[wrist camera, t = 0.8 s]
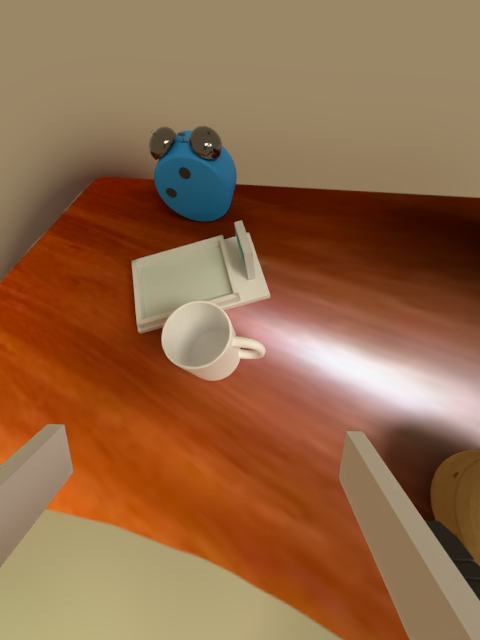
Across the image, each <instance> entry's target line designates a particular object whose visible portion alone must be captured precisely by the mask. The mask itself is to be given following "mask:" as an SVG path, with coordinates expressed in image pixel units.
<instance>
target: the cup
mask: <svg viewBox="0 0 480 640" xmlns="http://www.w3.org/2000/svg"><path fill="white" fill-rule="evenodd" d="M161 341H162V347H163V350H164V352H165V354H166V356H167V357H168V359H169V360H170V361H171V362H172V363H174V364H175V365H177V366H179V367H181V368H183V369H184V370H186V371H188V372H190V373H192V374H194V375H196V376H198V377H199V378H202V379H205V380H210V381H215V380H220V379H223V378H225V377H227V376H229V375H230V374H231V373H232V372H233V371H234V370H235V369H236V367H237V366H238V364H239V361H240V358H243V359H258V358H261V357H263V356H264V355H265V352H266V351H265V348H264V346H263V345H262V344H261V343H260V342H258V341H256V340H254V339H250V338H245V337H237V336H236V333H235V331H234V329H233V326H232V324H231V322H230V319H229V317H228V315H227V314H226V312H225V311H224V310H223V309H222V308H221V307H219V306H218V305H216V304H214V303H211V302H208V301H193V302H189V303H186V304H184V305H182V306H180V307H179V308H177V309H176V310H175V311H174V312H173V313H172V314H171V315H170V316H169V317H168V319H167V320H166V322H165V324H164V327H163V330H162V336H161ZM241 348H250V349H253V350H256V351H251V350H243V349H241Z"/></svg>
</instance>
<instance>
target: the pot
mask: <svg viewBox="0 0 480 640" xmlns="http://www.w3.org/2000/svg"><path fill="white" fill-rule="evenodd" d="M430 496H431V506H432V511H433V514H434V517H435V521H440V522H441V523H442V524H443V525H444V526H445V527H446V528H447V529H448V530H450V531H451V532H452V533H453V534H454V535H455V536H456V537H457V538H458V539H459V540H460V541H461V543H462V544H463V545H464V547H465V548H466V549H467V550H468V552H469V553H470V554H471V556H472V557H473V558H474V561H475V563H478V565H479V566H480V449H476V450H465V451H462V452H459V453H456V454H453V455H452V456H450V457H449V458H447V459H446V460H445V461H443V462H442V464H441V465H440V466H439V467H438V469H437V470H436V471H435V474H434V477H433V479H432V483H431V492H430Z"/></svg>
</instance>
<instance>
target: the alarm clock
mask: <svg viewBox="0 0 480 640" xmlns="http://www.w3.org/2000/svg"><path fill="white" fill-rule="evenodd" d="M149 151H150V153H151V155H152V156H153V158H154V159H156V160H157V159H159V161H158V163H157V165H156V168H155V171H154V182H155V186H156V189H157V191H158V193H159V195H160V196H161V198H162V199H163V201H164V202H165V203H166V204H167V205H168V206H169V207H170V208H171V209H173V210H174V211H175V212H177V213H178V214H180V215H182V216H184V217H186V218H188V219H191V220H195V221H201V222H209V221H214V220H217V219H219V218H221V217H222V216H224V215H225V214H226V212H227V211H228V209H229V207H230V204H231V200H232V196H233V192H234V188H235V184H236V168H235V165H234V162H233V160H232V158H231V156H230V154H229V153H228V152H227V150H226V149H225V148H224V147H223V146H222V141H221V138H220V136H219V135H218V134H217V132H216V131H215V130H213V129H212V128H210V127H207V126H198V127H196V128H195V129H194V130H193V131H183V132H179V133H177V134H176V133H175V132H174V130H172V129H171V128H169V127H160V128H158V129H156V130H155V131H152V135H151V137H150V140H149Z"/></svg>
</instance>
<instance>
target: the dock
mask: <svg viewBox="0 0 480 640" xmlns="http://www.w3.org/2000/svg"><path fill="white" fill-rule="evenodd" d="M234 224H235V234H236V236H235V237H232V238H228V239H224V238H223V235H220V236H217V237H213V238H210V239H206V240H203V241H199V242H196V243H192V244H188V245H185V246H181V247H178V248H174V249H171V250H167V251H164V252H160V253H157V254H153V255H150V256H146V257H143V258H139V259H136V260H132V273H133V285H134V297H135V309H136V321H137V326H138V332H139V333H145V332H149V331H152V330H156V329H159V328H163V327H164V324H165V322H166V320H167V319H168V317H169V316H170V315H171V314H172V313H173V312H174V311H175V310H176V309H177V308H179V307H180V306H182V305H184V304H186V303H189V302H193V301H208V302H211V303H214V304H216V305H218V306H219V307H221V308H222V309H223V310H228V309H231V308H235V307H238V306H242V305H246V304H249V303H253V302H256V301H260V300H264V299H267V298H270V293H269V290H268V287H267V284H266V281H265V278H264V275H263V273H262V270H261V267H260V264H259V261H258V258H257V255H256V252H255V249H254V246H253V243H252V240H251V237H250V234H249V233H246V231H245V228H244V225H243V222H242V220H241V221H237V222H234Z"/></svg>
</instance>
